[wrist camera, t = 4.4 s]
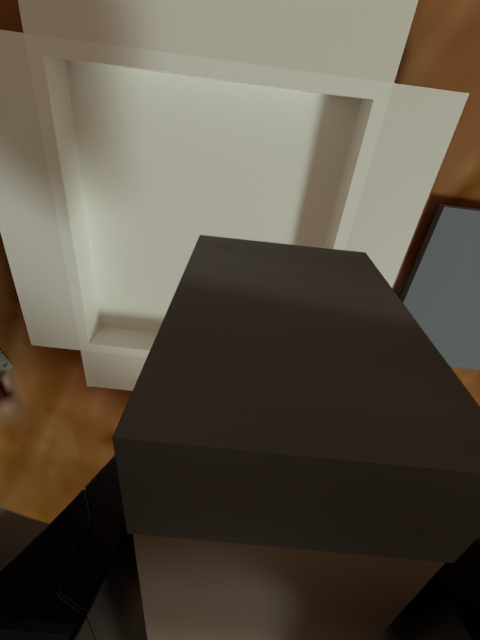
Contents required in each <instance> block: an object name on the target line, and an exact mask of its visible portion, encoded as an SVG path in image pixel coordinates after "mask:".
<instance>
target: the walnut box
mask: <svg viewBox="0 0 480 640" xmlns="http://www.w3.org/2000/svg"><path fill="white" fill-rule="evenodd" d="M112 439H113V445H114V451H115V458H116V464H117V471H118V477H119V483H120V490H121V496H122V503H123V509H124V515H125V522H126V528H127V533H128V534H133V538H134V546H135V553H136V560H137V567H138V574H139V581H140V588H141V596H142V603H143V610H144V616H145V624H146V631H147V638H148V640H376V639H377V638H378V637H379V636H380V635H381V634H382V633H383V632H384V631H385V629H386V628H387V627H388V626H389V625H390V624H391V623H392V622H393V620H394V619H395V618H396V617H397V616H398V615H399V614H400V613H401V612H402V610H403V609H404V608H405V607H406V606H407V605H408V604H409V603H410V601H411V600H412V599H413V598H414V597H415V596H416V595H417V594H418V593H419V591H420V590H421V589H422V588H423V587H424V586H425V585H426V584H427V582H428V581H429V580H430V579H431V578H432V577H433V576H434V575H435V574H436V572H437V571H438V570H439V569H440V568H441V567H442V566H443V565H444V563H454V562H455V561H456V560H457V559H458V558H459V557H460V556H461V555H462V554H463V553H464V552H465V550H466V549H467V548H468V547H469V546H470V545H471V544H472V543H473V542H474V541H475V540H476V539H477V537H478V536H479V535H480V407H479V405H478V404H477V402H476V401H475V400H474V398H473V397H472V396H471V394H470V393H469V392H468V390H467V389H466V388H465V386H464V385H463V384H462V382H461V381H460V380H459V378H458V377H457V375H456V374H455V373H454V371H453V370H452V369H451V367H450V366H449V365H448V363H447V362H446V361H445V359H444V358H443V357H442V355H441V354H440V352H439V351H438V350H437V348H436V347H435V346H434V344H433V343H432V342H431V340H430V339H429V338H428V336H427V335H426V334H425V332H424V331H423V330H422V328H421V327H420V325H419V324H418V323H417V321H416V320H415V319H414V317H413V316H412V315H411V313H410V312H409V311H408V309H407V308H406V307H405V305H404V304H403V302H402V301H401V300H400V298H399V297H398V296H397V294H396V293H395V292H394V290H393V289H392V288H391V286H390V285H389V284H388V282H387V281H386V279H385V278H384V277H383V275H382V274H381V273H380V271H379V270H378V269H377V267H376V266H375V265H374V263H373V262H372V261H371V259H370V258H369V257H368V255H367V254H366V253H365V252H356V251H347V250H337V249H328V248H319V247H309V246H300V245H290V244H281V243H272V242H262V241H253V240H244V239H234V238H225V237H216V236H206V235H200V236H199V238H198V241H197V243H196V245H195V248H194V250H193V252H192V255H191V257H190V259H189V262H188V264H187V266H186V268H185V271H184V273H183V275H182V278H181V280H180V282H179V285H178V287H177V289H176V292H175V294H174V296H173V299H172V301H171V303H170V305H169V308H168V310H167V312H166V315H165V317H164V319H163V322H162V324H161V326H160V329H159V331H158V333H157V336H156V338H155V340H154V342H153V345H152V347H151V349H150V352H149V354H148V356H147V359H146V361H145V363H144V366H143V368H142V370H141V373H140V375H139V377H138V379H137V382H136V384H135V386H134V389H133V391H132V393H131V396H130V398H129V400H128V403H127V405H126V407H125V410H124V412H123V414H122V416H121V419H120V421H119V423H118V426H117V428H116V430H115V433H114V435H113V437H112Z"/></svg>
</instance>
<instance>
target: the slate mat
mask: <svg viewBox="0 0 480 640" xmlns="http://www.w3.org/2000/svg"><path fill="white" fill-rule="evenodd" d="M400 300H401V301H402V302H403V304H404V305H405V307H406V308H407V309H408V311H409V312H410V313H411V315H412V316H413V317H414V319H415V320H416V321H417V323H418V324H419V325H420V327H421V328H422V330H423V331H424V332H425V334H426V335H427V336H428V338H429V339H430V340H431V342H432V343H433V344H434V346H435V347H436V348H437V350H438V351H439V352H440V354H441V355H442V357H443V358H444V359H445V361H446V362H447V363H448V365H449V366H450V367H458V368H466V369H475V370H480V209H476V208H469V207H461V206H453V205H445V204H439V205H438V208H437V210H436V212H435V215H434V217H433V220H432V222H431V224H430V227H429V229H428V231H427V234H426V236H425V239H424V241H423V243H422V246H421V248H420V251H419V253H418V255H417V258H416V260H415V263H414V265H413V267H412V270H411V272H410V275H409V277H408V279H407V282H406V284H405V286H404V289H403V291H402V294H401V296H400Z"/></svg>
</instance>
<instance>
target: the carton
mask: <svg viewBox="0 0 480 640" xmlns="http://www.w3.org/2000/svg"><path fill="white" fill-rule="evenodd" d="M417 3H418V0H18V4H19V10H20V16H21V21H22V27H23V32H24V33H21V32H13V31H6V30H0V233H1V237H2V240H3V244H4V247H5V251H6V255H7V258H8V262H9V266H10V269H11V273H12V276H13V280H14V284H15V287H16V291H17V295H18V298H19V302H20V305H21V309H22V313H23V316H24V320H25V324H26V327H27V331H28V335H29V338H30V342H31V345H35V346H44V347H53V348H62V349H72V350H81V355H82V361H83V367H84V372H85V378H86V383H87V386H91V387H101V388H110V389H119V390H129V391H133V389H134V386H135V384H136V382H137V379H138V377H139V375H140V373H141V370H142V368H143V366H144V363H145V361H146V359H147V356H148V354H149V352H150V349H151V347H152V345H153V342H154V340H155V338H156V336H157V333H158V331H159V329H160V326H161V324H162V322H163V319H164V317H165V315H166V312H167V310H168V308H169V305H170V303H171V301H172V299H173V296H174V294H175V292H176V289H177V287H178V285H179V282H180V280H181V278H182V275H183V273H184V271H185V268H186V266H187V264H188V262H189V259H190V257H191V255H192V252H193V250H194V248H195V245H196V243H197V241H198V238H199V236H200V235H206V236H216V237H225V238H234V239H244V240H253V241H262V242H272V243H281V244H290V245H300V246H309V247H319V248H328V249H337V250H347V251H356V252H365V253H366V254H367V255H368V257H369V258H370V259H371V261H372V262H373V263H374V265H375V266H376V267H377V269H378V270H379V271H380V273H381V274H382V275H383V277H384V278H385V279H386V281H387V282H388V284H389V285H390V286H391V288H392V287H393V285H394V282H395V280H396V277H397V275H398V272H399V269H400V267H401V264H402V262H403V259H404V257H405V254H406V252H407V249H408V247H409V244H410V242H411V239H412V237H413V234H414V232H415V229H416V227H417V224H418V222H419V219H420V217H421V214H422V212H423V209H424V207H425V204H426V202H427V199H428V197H429V194H430V191H431V189H432V186H433V184H434V181H435V179H436V176H437V174H438V171H439V169H440V166H441V164H442V161H443V159H444V156H445V154H446V151H447V149H448V146H449V144H450V141H451V139H452V136H453V134H454V131H455V129H456V126H457V124H458V121H459V119H460V116H461V113H462V111H463V108H464V106H465V103H466V101H467V98H468V96H469V93H462V92H454V91H447V90H440V89H432V88H425V87H418V86H410V85H403V84H396V83H394V82H395V78H396V75H397V71H398V68H399V65H400V61H401V58H402V54H403V51H404V48H405V44H406V41H407V37H408V34H409V31H410V27H411V24H412V20H413V17H414V14H415V10H416V7H417Z"/></svg>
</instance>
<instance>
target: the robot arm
mask: <svg viewBox="0 0 480 640" xmlns="http://www.w3.org/2000/svg"><path fill="white" fill-rule="evenodd" d="M85 489H86V490H85ZM85 489H83V490H82V491H81V492H80V493H79V494H78V495H77V496H76V497H75V498H74V500H73V501H72V502H71V503H70V504H69V505H68V506H67V507H66V508H65V509H64V510H63V511H62V512H61V513H60V514H59V515H58V516H57V517H56V518H55V519H54V520H53V521H52V522H51V523H50V524H49V525H48V526H47V527H46V528H45V529H44V530H43V531H42V532H41V533H40V534H39V535H38V536H37V537H36V538H34V539H33V540H32V542H30V543H29V544H28V545H27V546H26V547H25V548H24V549H23V550H22V551H21V552H19V553H18V554H17V555H16V556H15V557H14V558H13V559H12V560H10V562H8V563H7V564H6V565H5V566H4V567H3V568H2V569H1V570H0V640H132V637H133V634H134V630H135V627H136V624H137V620H138V617H139V613H140V610H141V606H142V596H141V588H140V581H139V574H138V567H137V560H136V553H135V546H134V538H133V534H128V533H127V528H126V522H125V515H124V509H123V503H122V496H121V490H120V483H119V477H118V471H117V464H116V458H115V455H114V456H113V457H112V459H111V460H110V461H109V462H108V463H107V464H106V465H105V466H104V467H103V468H102V469H101V470H100V472H99V473H98V474H97V475H96V476H95V477H94V478H93V479H92V480H91V481H90V482H89V483H88V485H87V486H86V487H85ZM376 640H480V542H479V541H478V540H477V539H476V540H475V541H474V542H473V543H472V544H471V545H470V546H469V547H468V548H467V549H466V550H465V552H464V553H463V554H462V555H461V556H460V557H459V558H458V559H457V560H456V561H455V562H454V563H444V565H443V566H442V567H441V568H440V569H439V570H438V571H437V572H436V574H435V575H434V576H433V577H432V578H431V579H430V580H429V581H428V582H427V584H426V585H425V586H424V587H423V588H422V589H421V590H420V591H419V593H418V594H417V595H416V596H415V597H414V598H413V599H412V600H411V601H410V603H409V604H408V605H407V606H406V607H405V608H404V609H403V610H402V612H401V613H400V614H399V615H398V616H397V617H396V618H395V619H394V620H393V622H392V623H391V624H390V625H389V626H388V627H387V628H386V629H385V631H384V632H383V633H382V634H381V635H380V636H379V637H378V638H377V639H376Z"/></svg>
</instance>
